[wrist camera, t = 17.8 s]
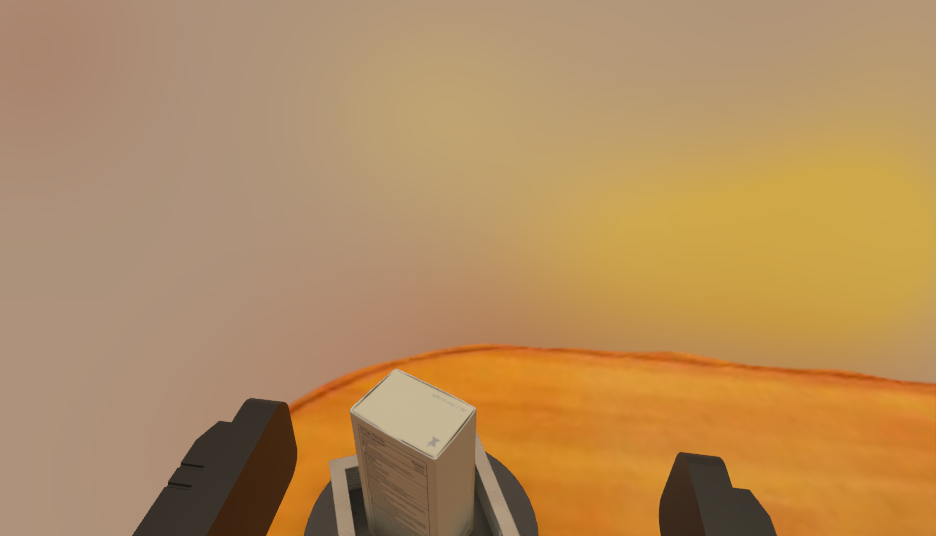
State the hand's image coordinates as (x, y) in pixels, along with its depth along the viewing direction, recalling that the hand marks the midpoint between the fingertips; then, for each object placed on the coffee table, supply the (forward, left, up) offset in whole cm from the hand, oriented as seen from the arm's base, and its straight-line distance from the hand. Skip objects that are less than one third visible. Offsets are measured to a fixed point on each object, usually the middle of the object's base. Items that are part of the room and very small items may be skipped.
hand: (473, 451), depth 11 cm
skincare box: (-2, -14, -27) cm, 30 cm away
